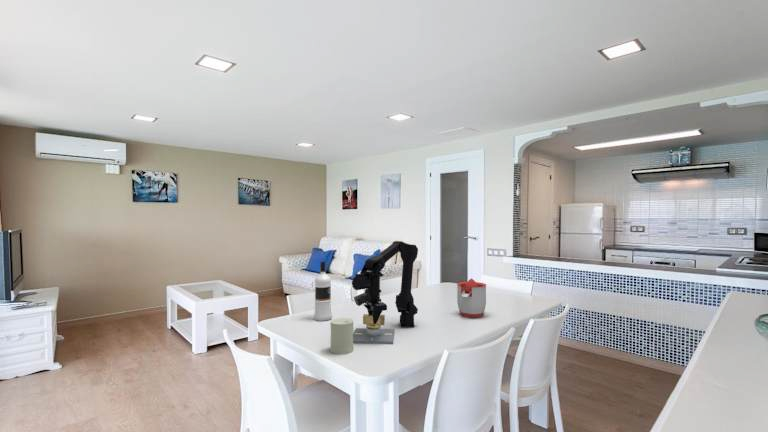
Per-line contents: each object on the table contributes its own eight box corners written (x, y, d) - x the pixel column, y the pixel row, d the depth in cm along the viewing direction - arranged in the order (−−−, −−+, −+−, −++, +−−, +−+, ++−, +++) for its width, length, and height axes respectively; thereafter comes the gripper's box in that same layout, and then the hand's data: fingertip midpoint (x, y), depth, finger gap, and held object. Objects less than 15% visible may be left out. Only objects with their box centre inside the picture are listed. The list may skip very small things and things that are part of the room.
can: (343, 355, 140) (343, 324, 141) (325, 351, 145) (325, 320, 145) (358, 348, 148) (358, 318, 148) (340, 344, 153) (340, 315, 153)
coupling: (365, 324, 167) (365, 312, 167) (385, 325, 166) (385, 313, 166) (361, 328, 161) (361, 316, 161) (383, 329, 159) (383, 317, 159)
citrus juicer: (450, 317, 195) (450, 279, 195) (463, 310, 209) (463, 275, 210) (479, 322, 186) (479, 282, 186) (490, 314, 200) (490, 277, 201)
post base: (394, 330, 171) (394, 322, 172) (392, 344, 154) (392, 334, 154) (356, 330, 173) (356, 321, 173) (350, 343, 155) (350, 333, 155)
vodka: (313, 317, 195) (313, 260, 196) (331, 316, 197) (331, 260, 198) (314, 322, 186) (314, 262, 187) (332, 320, 188) (332, 262, 189)
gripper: (350, 284, 169) (349, 318, 169) (362, 292, 152) (362, 330, 151) (373, 283, 173) (372, 316, 173) (387, 290, 156) (387, 327, 155)
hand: (373, 322), depth 163 cm, fingers closed on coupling, 4 cm apart
